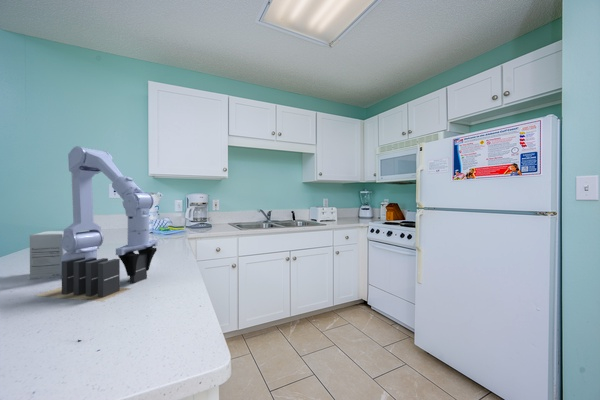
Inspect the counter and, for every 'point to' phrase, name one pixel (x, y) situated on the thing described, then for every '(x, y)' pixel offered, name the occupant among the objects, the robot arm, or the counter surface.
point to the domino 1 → (68, 275)
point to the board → (58, 294)
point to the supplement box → (46, 254)
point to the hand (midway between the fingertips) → (138, 273)
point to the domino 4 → (108, 277)
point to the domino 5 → (140, 269)
